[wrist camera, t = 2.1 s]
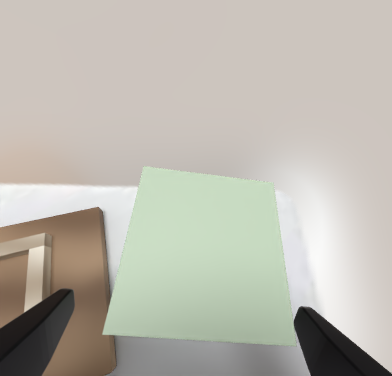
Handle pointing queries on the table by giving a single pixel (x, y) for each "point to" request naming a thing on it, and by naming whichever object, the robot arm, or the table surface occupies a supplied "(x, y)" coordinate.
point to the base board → (61, 285)
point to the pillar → (202, 262)
